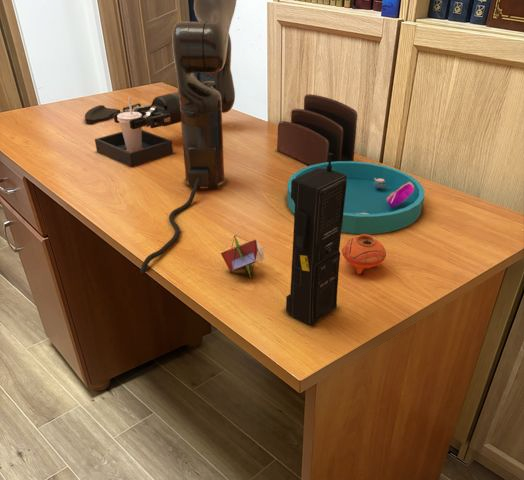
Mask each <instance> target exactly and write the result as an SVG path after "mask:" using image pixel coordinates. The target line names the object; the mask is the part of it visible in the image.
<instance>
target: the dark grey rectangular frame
mask: <svg viewBox="0 0 524 480" xmlns="http://www.w3.org/2000/svg"><path fill="white" fill-rule="evenodd" d="M94 143H95V148H96V153H99V154H101V155H103V156H106V157H108V158H110V159H112V160H115V161H116V162H119V163H120V164H123V165H126V166H128V167H130V168H134V167H137V166H140V165H143V164H146V163H148V162H151V161H155V160H159V159H160V158H164V157H167V156H170V155H173V154H174V150H173V149H174V148H173V141H172V140H171V139H169V138H165V137H162V136H160V135H157V134H154V133H152V132H149V131H147V130H144V129H142V149H140V150H137V151H133V152H128V151H127V148H126V144H125V141H124V137H123V133H122V131H119V132H116V133H111V134H108V135H105V136H100V137H98V138H94Z"/></svg>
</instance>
